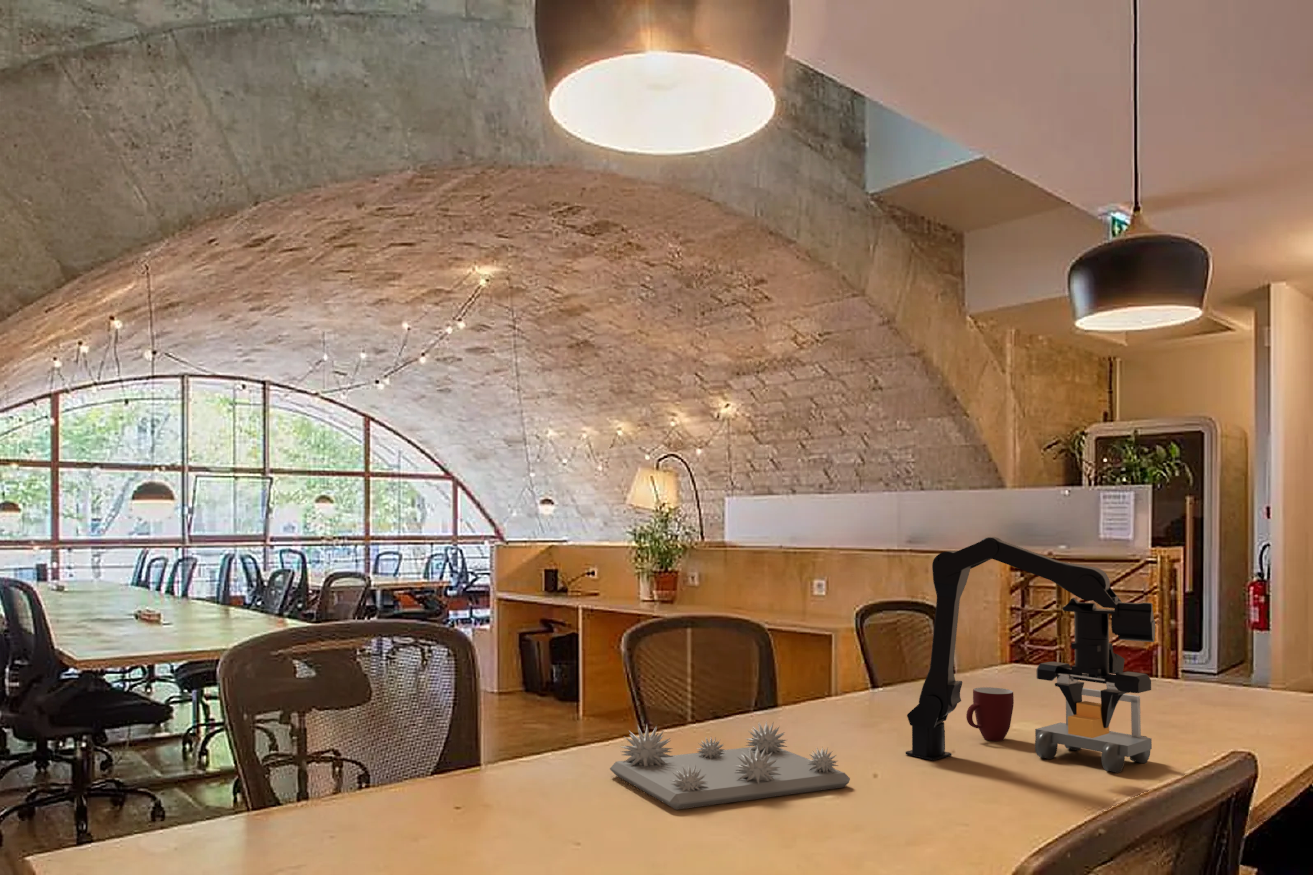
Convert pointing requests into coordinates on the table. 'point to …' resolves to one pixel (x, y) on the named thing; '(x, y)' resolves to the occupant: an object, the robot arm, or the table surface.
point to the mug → (991, 712)
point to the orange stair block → (1087, 720)
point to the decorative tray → (724, 770)
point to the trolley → (1098, 738)
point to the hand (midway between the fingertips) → (1092, 725)
